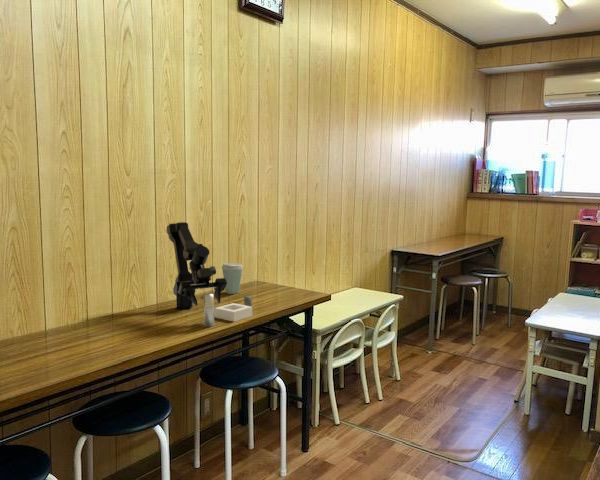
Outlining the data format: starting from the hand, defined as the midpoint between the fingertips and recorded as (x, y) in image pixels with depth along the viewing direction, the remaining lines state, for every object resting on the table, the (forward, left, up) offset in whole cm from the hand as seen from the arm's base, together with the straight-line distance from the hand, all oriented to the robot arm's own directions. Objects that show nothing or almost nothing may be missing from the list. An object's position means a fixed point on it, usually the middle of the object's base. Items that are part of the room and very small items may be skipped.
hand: (208, 303), depth 208 cm
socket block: (+8, +13, -8) cm, 17 cm away
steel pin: (0, -1, -8) cm, 9 cm away
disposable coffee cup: (-1, +59, -9) cm, 60 cm away
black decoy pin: (+12, +24, -8) cm, 28 cm away
